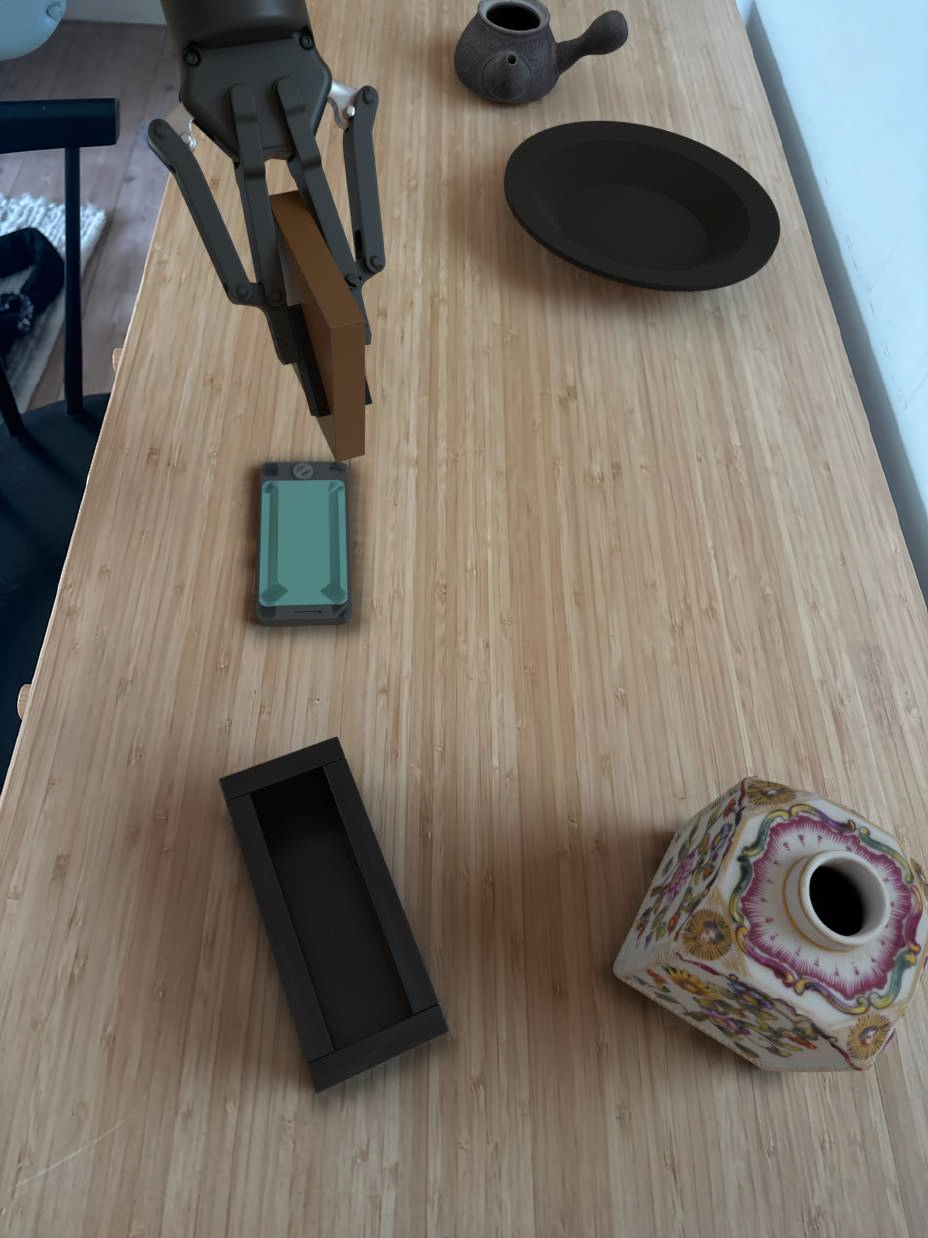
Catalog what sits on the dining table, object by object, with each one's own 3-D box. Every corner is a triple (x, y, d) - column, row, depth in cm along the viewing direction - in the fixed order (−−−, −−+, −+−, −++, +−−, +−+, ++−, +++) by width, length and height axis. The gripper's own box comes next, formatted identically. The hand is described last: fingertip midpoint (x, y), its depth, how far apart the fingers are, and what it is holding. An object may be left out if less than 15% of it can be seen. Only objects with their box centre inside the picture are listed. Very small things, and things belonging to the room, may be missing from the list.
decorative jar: (676, 825, 62) (781, 741, 47) (825, 913, 60) (987, 857, 45) (603, 978, 57) (694, 942, 41) (764, 1080, 55) (924, 1083, 39)
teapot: (446, 120, 98) (454, 26, 89) (456, 42, 105) (464, -52, 96) (610, 143, 99) (634, 52, 90) (609, 64, 106) (631, -27, 97)
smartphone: (347, 459, 73) (351, 616, 66) (347, 469, 74) (351, 624, 67) (257, 460, 72) (252, 619, 65) (259, 469, 73) (254, 626, 66)
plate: (470, 284, 86) (476, 237, 81) (526, 144, 97) (534, 94, 92) (744, 361, 85) (767, 317, 80) (768, 210, 96) (790, 163, 91)
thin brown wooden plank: (281, 343, 60) (264, 195, 50) (309, 336, 61) (297, 189, 51) (336, 463, 56) (330, 328, 46) (365, 454, 56) (365, 319, 46)
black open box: (237, 817, 60) (217, 778, 52) (341, 778, 62) (337, 735, 54) (323, 1091, 53) (316, 1094, 45) (437, 1037, 54) (449, 1031, 47)
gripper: (342, -22, 51) (432, 379, 59) (81, 11, 47) (216, 436, 55) (375, -81, 45) (472, 381, 53) (74, -49, 40) (230, 445, 49)
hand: (341, 408), depth 54 cm, fingers closed on thin brown wooden plank, 2 cm apart
